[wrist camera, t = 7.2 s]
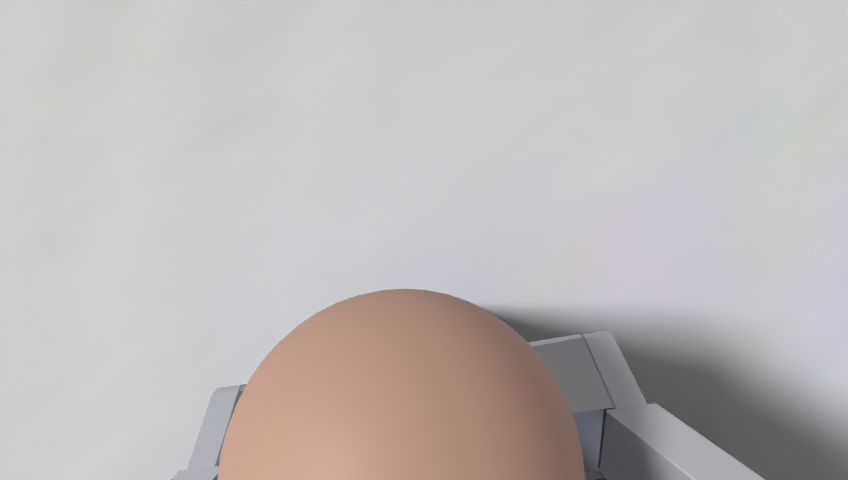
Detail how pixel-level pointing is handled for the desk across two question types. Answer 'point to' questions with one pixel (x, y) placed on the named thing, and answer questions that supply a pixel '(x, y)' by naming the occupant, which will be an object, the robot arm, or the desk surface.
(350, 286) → the desk surface
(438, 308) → the peach-tipped grey cylinder
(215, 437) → the robot arm
